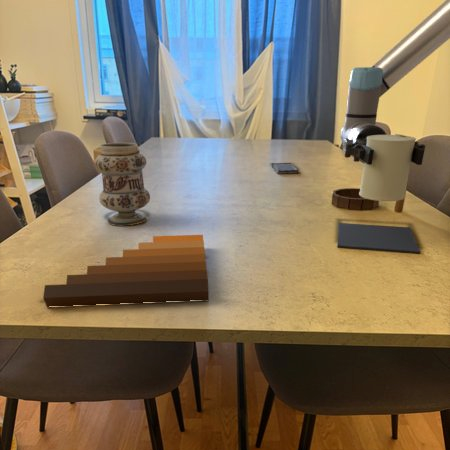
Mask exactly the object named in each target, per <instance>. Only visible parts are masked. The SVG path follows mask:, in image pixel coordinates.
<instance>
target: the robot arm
mask: <svg viewBox="0 0 450 450" xmlns="http://www.w3.org/2000/svg"><path fill="white" fill-rule="evenodd" d="M449 40H450V0H444V1H443V2H442V3H441V4H440V5H439V6H437V8H435V10H433V11H432V12H431V13H430V14H429V15H428V16H426V17H425V18H424V19H423V20H422V21H421V22H420V23H419V24H418V25H416V26H415V27H414V28H413V29H412V30H411V31H410V32H409V33H408V34H406V35H405V36H404V37H403V38H402V39H401V40H400V41H398V43H396V44H395V45H394V46H393V47H392V48H391V49H389V51H388V52H386V53H385V54H384V55H382V57H381V58H380V59H378V60H377V62H375V63H374V64H373V65H372V66H365V67H364V66H363V67H362V66H361V67H354V68H352V70H351V72H350V78H349V81H348V93H347V94H348V95H347V102H346V113H345V119H344V125H343V126H342V128H341V130H340V141H341V142H342V151H343V152H344V158H347V159H349V158H351V156H353V162H355V163H359V162H360V160H361V161H362V162H363V163H364V162H365V163H366V164H368V165H372V159H373V153H374V150H373V149H372V148H370V147H367V146H366V145H367V137H368V136H371V135H388V134H387V133H386V131H385V130H384V129H383V128H381V127H380V126H378V125H376V121H377V116H378V110H379V109H378V108H379V104H380V103H379V102H380V98H381V97H383V95H385V94H386V93H387V92H388V91H389V90H390V89H392V88H393V86H395V85H396V84H397V83H399V82H400V81H401V80H402V79H403V78H404V77H405V76H407V75H408V74H409V73H411V72H412V71H413V70H414V69H416V68H417V67H418V65H420V64H421V63H423V61H424V60H426V59H427V58H428V57H429V56H431V55H432V54H433V53H434V52H436V50H438V49H439V48H440V47H442V46H443V45H444V44H445V43H446V42H447V41H449ZM425 150H426V144H422V143H419V141H415V144H414V149H413V154H412V159H411V163H412V164H415V165H417V166H422V164H423V161H424V156H425Z"/></svg>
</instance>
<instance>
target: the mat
mask: <svg viewBox="0 0 450 450" xmlns="http://www.w3.org/2000/svg"><path fill="white" fill-rule="evenodd" d="M337 231H338V232H337V245H336V246H337V248H338V249H350V250H361V251H363V250H364V251H376V252H387V253H388V252H390V253H401V254H402V253H403V254H416V255H419V254H421V250H420V248H419V245H418V243H417V241H416V238H415V236H414V234H413V231H412V229H411V227H409V226H396V225H395V226H394V225H380V224H365V223H364V224H363V223H362V224H361V223H349V222H338V228H337Z"/></svg>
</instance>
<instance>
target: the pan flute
mask: <svg viewBox="0 0 450 450" xmlns="http://www.w3.org/2000/svg"><path fill="white" fill-rule="evenodd" d="M205 251H206V250H205V241H204V234H180V235H153V236H152V241H149V242H138V248H137V249H136V248H135V249H134V248H133V249H123V250H122V256H109V257H108V256H107V257H105V264H103V265H101V264H100V265H87V266H86V273H85V274H84V273H83V274H67V275H66V283H64V284H45V285H44V290H43V291H44V292H43V296H42V297H43V301H44V304H45V306H46V308H47V307H49V306H73V305H96V304H120V303H143V302H166V301H190V300H210V299H209V298H210V295H209V278H208V270H207V261H206V252H205Z"/></svg>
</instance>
